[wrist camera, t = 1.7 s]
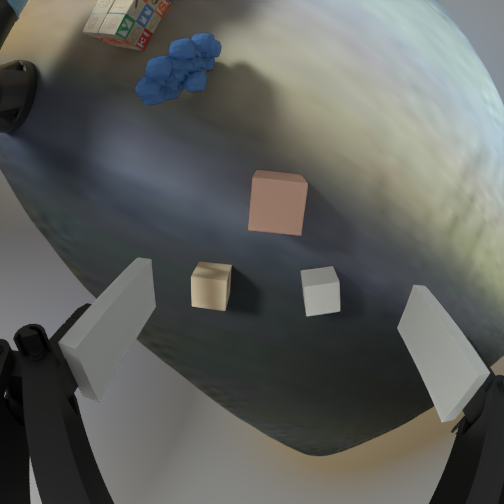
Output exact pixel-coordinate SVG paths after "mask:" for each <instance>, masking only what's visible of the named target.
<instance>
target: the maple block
mask: <svg viewBox="0 0 504 504" xmlns="http://www.w3.org/2000/svg"><path fill="white" fill-rule="evenodd" d="M231 267H232V265H226V264H217V263H208V262H199V263H198V265H197V267H196V269H195V270H194V272H193V274H192V276H191V295H192V306H193V307H200V308H208V309H215V310H223V311H225V310H226V307H227V303H228V299H229V295H230V284H231Z"/></svg>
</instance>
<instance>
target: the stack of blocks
mask: <svg viewBox="0 0 504 504" xmlns="http://www.w3.org/2000/svg"><path fill="white" fill-rule="evenodd" d="M171 2H172V0H99V1H98V3H97V4H96V6H95V8H94V9H93V11H92V14H91V16H90V17H89V19H88V21H87V23H86V25H85V27H84V29H83V31H82V32H83V33H85V34H88V35H90V36H92V37H94V38H96V39H98V40H101V41H103V42H106V43H108V44H110V45H113V46H117V47H124V48H129V49H134V50H140V51H144V49H145V47H146V45H147V43H148V41H149V39H150V37H151V35H152V34H153V33H154V31H155V29H156V27H157V26H158V24H159V22H160V20H161V18H162V17H163V15H164V14H165V12H166V10H167V9H168V7H169V6H170V4H171Z"/></svg>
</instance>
